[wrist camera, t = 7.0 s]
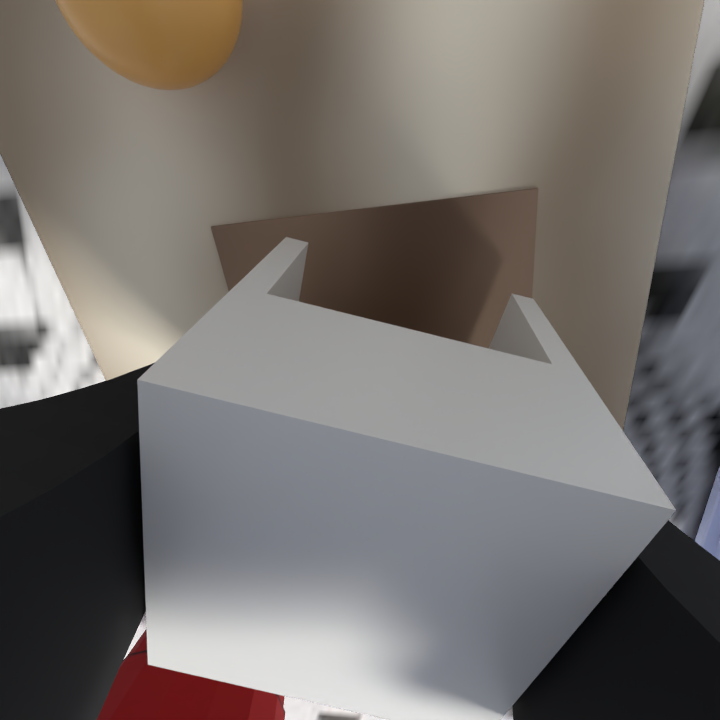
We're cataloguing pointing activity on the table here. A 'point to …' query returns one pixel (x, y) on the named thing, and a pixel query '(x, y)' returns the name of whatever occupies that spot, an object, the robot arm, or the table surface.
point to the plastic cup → (181, 695)
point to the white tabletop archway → (377, 503)
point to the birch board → (363, 168)
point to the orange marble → (157, 37)
